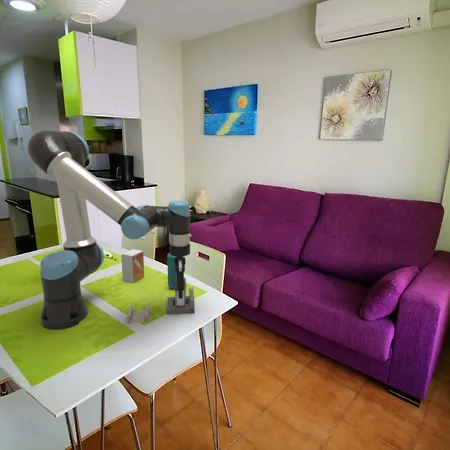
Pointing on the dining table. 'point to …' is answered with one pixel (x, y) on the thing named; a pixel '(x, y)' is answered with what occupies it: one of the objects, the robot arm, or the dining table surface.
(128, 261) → the small box
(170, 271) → the beverage bottle
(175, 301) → the plug
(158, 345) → the dining table surface
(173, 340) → the dining table surface
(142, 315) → the grey u-shaped block
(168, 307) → the port
